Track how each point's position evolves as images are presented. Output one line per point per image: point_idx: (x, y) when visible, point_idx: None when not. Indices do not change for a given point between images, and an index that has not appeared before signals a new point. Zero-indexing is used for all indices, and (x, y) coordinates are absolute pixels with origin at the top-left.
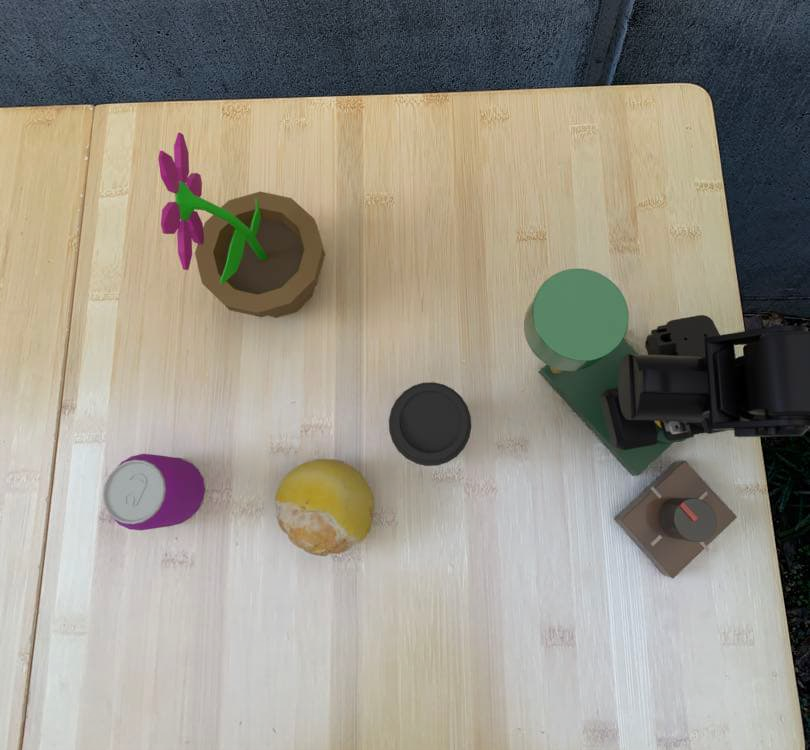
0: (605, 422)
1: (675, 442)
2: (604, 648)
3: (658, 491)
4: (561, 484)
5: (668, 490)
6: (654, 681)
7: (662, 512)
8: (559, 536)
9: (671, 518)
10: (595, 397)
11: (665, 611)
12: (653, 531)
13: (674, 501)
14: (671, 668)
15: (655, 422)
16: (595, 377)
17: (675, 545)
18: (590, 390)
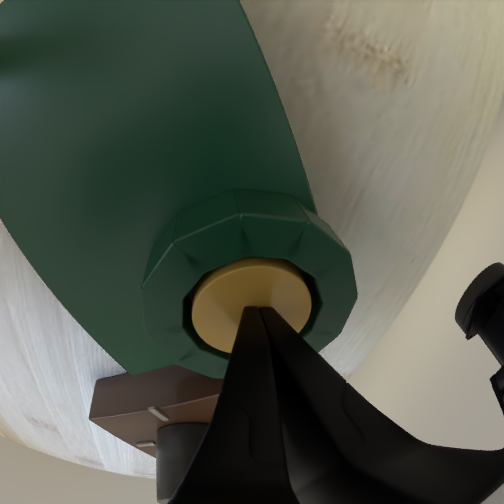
0: (57, 258)
1: None
2: (88, 442)
3: (165, 413)
4: (8, 316)
5: (186, 415)
6: (137, 460)
7: (159, 442)
8: (21, 369)
9: (157, 488)
10: (34, 175)
11: None
12: (143, 438)
13: (178, 461)
14: (155, 460)
15: (195, 328)
16: (48, 100)
17: None
18: (23, 148)
